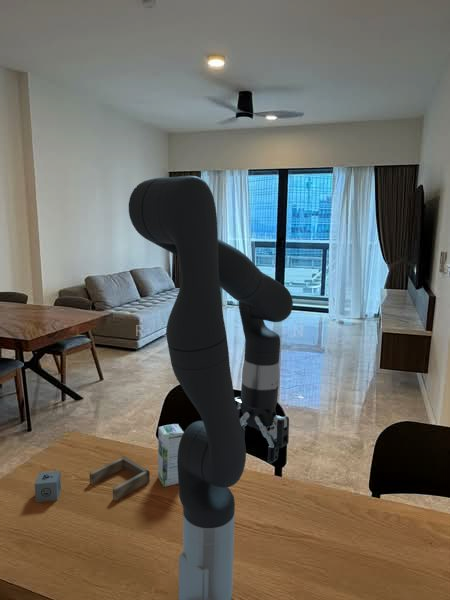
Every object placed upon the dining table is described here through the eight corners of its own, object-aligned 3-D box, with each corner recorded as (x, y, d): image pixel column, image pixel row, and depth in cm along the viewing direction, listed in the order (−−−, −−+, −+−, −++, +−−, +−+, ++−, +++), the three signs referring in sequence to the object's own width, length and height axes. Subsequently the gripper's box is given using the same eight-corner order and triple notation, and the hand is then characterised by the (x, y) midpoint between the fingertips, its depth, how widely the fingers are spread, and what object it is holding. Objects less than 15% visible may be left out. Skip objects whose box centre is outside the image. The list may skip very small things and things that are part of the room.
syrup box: (157, 476, 117) (157, 426, 115) (177, 471, 120) (178, 422, 117) (163, 487, 112) (163, 435, 110) (184, 482, 115) (185, 431, 112)
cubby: (115, 501, 106) (115, 489, 106) (89, 483, 113) (89, 473, 113) (149, 481, 115) (149, 471, 114) (123, 466, 122) (123, 456, 121)
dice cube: (40, 490, 110) (39, 472, 109) (61, 488, 111) (60, 470, 110) (35, 502, 105) (34, 483, 104) (57, 500, 106) (56, 482, 105)
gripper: (222, 375, 89) (218, 447, 93) (278, 396, 80) (272, 475, 83) (244, 367, 95) (240, 435, 98) (299, 386, 86) (293, 460, 89)
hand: (255, 453), depth 91 cm, fingers open, 8 cm apart
